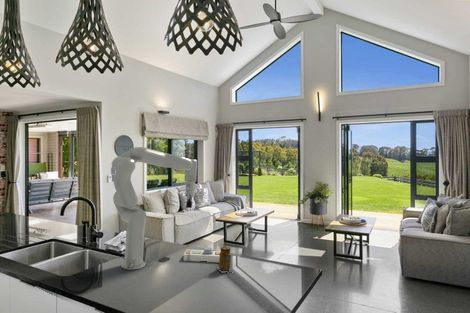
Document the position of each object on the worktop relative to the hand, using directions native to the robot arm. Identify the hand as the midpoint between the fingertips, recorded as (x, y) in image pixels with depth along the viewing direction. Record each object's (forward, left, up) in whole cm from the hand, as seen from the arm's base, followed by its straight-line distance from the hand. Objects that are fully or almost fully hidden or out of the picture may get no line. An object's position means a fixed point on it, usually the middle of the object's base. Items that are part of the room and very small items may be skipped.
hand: (189, 207), depth 187 cm
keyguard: (-8, -13, -29) cm, 33 cm away
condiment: (-25, -25, -29) cm, 46 cm away
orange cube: (-8, -21, -29) cm, 36 cm away
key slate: (-8, -14, -26) cm, 31 cm away
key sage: (-8, -7, -29) cm, 31 cm away
